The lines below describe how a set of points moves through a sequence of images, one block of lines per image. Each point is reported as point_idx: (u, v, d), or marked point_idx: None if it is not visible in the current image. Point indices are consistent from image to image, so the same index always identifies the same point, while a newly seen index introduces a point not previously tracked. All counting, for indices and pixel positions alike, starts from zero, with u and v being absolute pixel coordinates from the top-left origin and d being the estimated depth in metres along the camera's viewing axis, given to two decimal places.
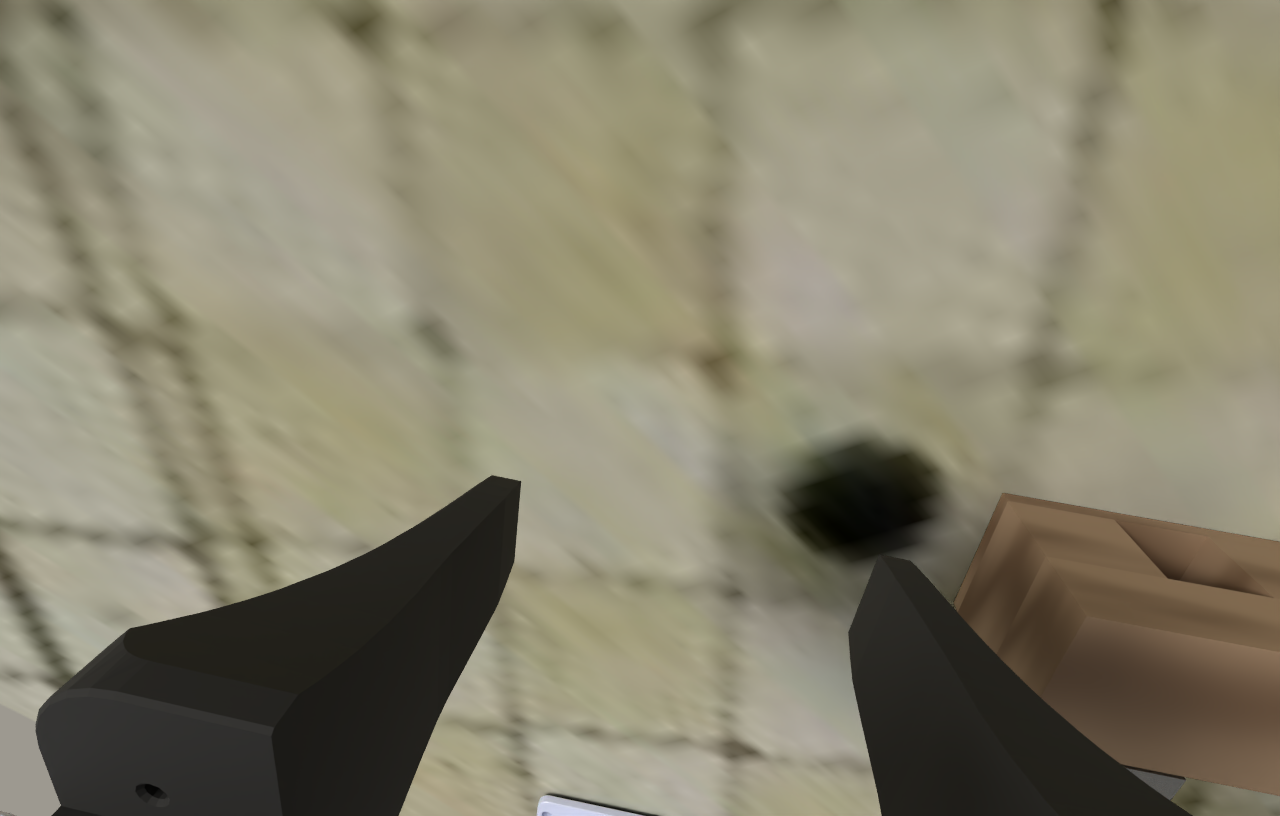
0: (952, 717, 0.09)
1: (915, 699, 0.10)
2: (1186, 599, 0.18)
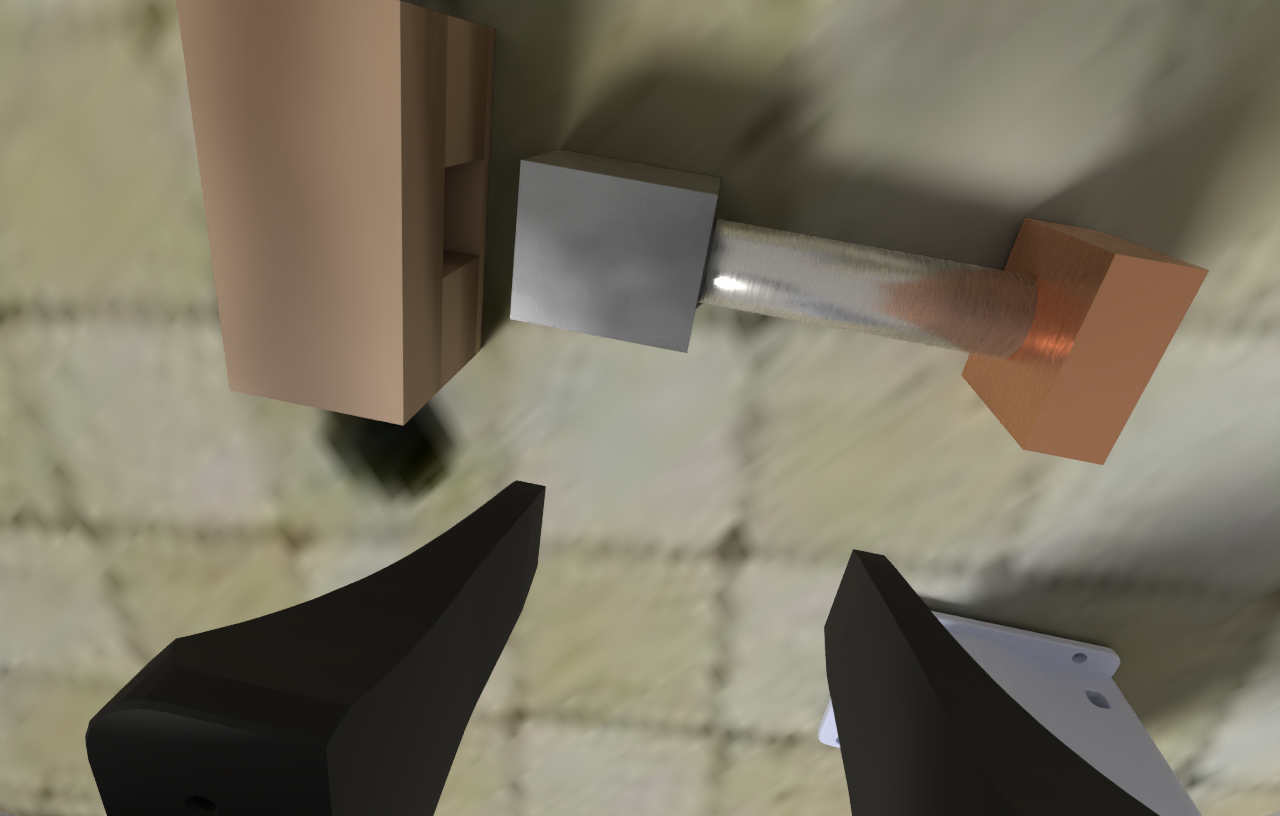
0: (916, 709, 0.09)
1: (883, 691, 0.10)
2: None
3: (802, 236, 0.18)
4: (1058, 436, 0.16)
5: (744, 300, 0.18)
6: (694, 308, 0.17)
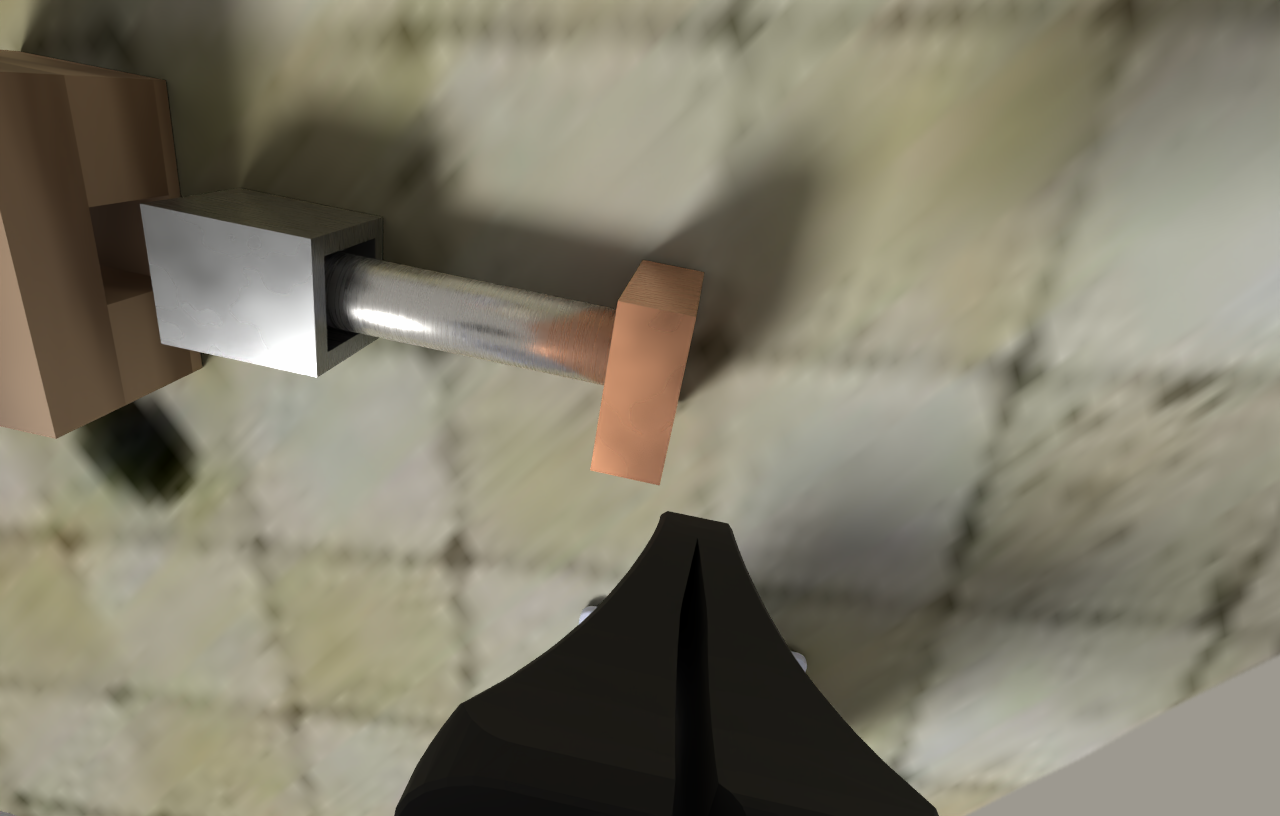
0: (700, 663, 0.09)
1: (691, 651, 0.10)
2: None
3: (426, 274, 0.20)
4: (615, 459, 0.18)
5: (376, 330, 0.20)
6: (314, 338, 0.19)
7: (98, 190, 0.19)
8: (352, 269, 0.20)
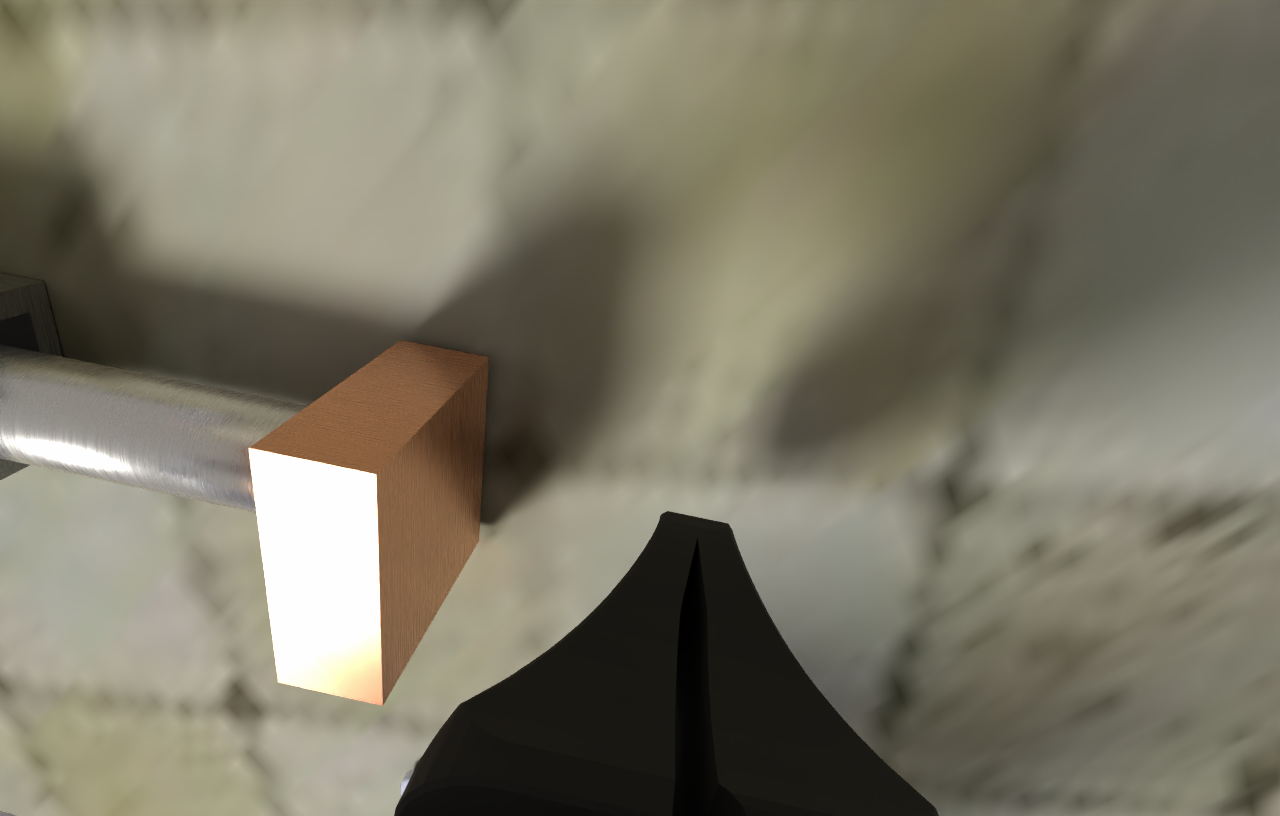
0: (700, 662, 0.09)
1: (691, 650, 0.10)
2: None
3: (66, 372, 0.14)
4: (309, 669, 0.12)
5: None
6: None
7: None
8: None
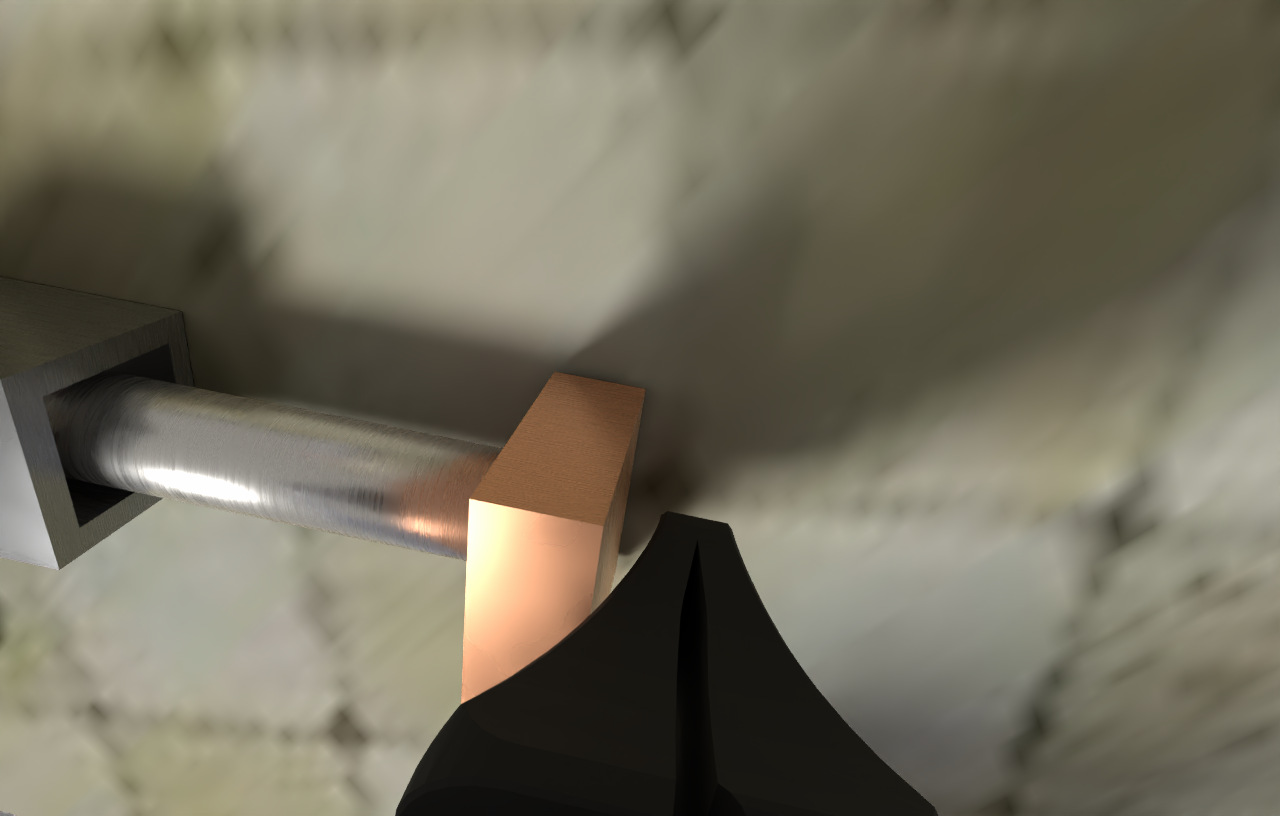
0: (700, 663, 0.09)
1: (691, 651, 0.10)
2: None
3: (222, 408, 0.13)
4: None
5: (151, 493, 0.13)
6: (41, 518, 0.13)
7: None
8: (106, 405, 0.13)
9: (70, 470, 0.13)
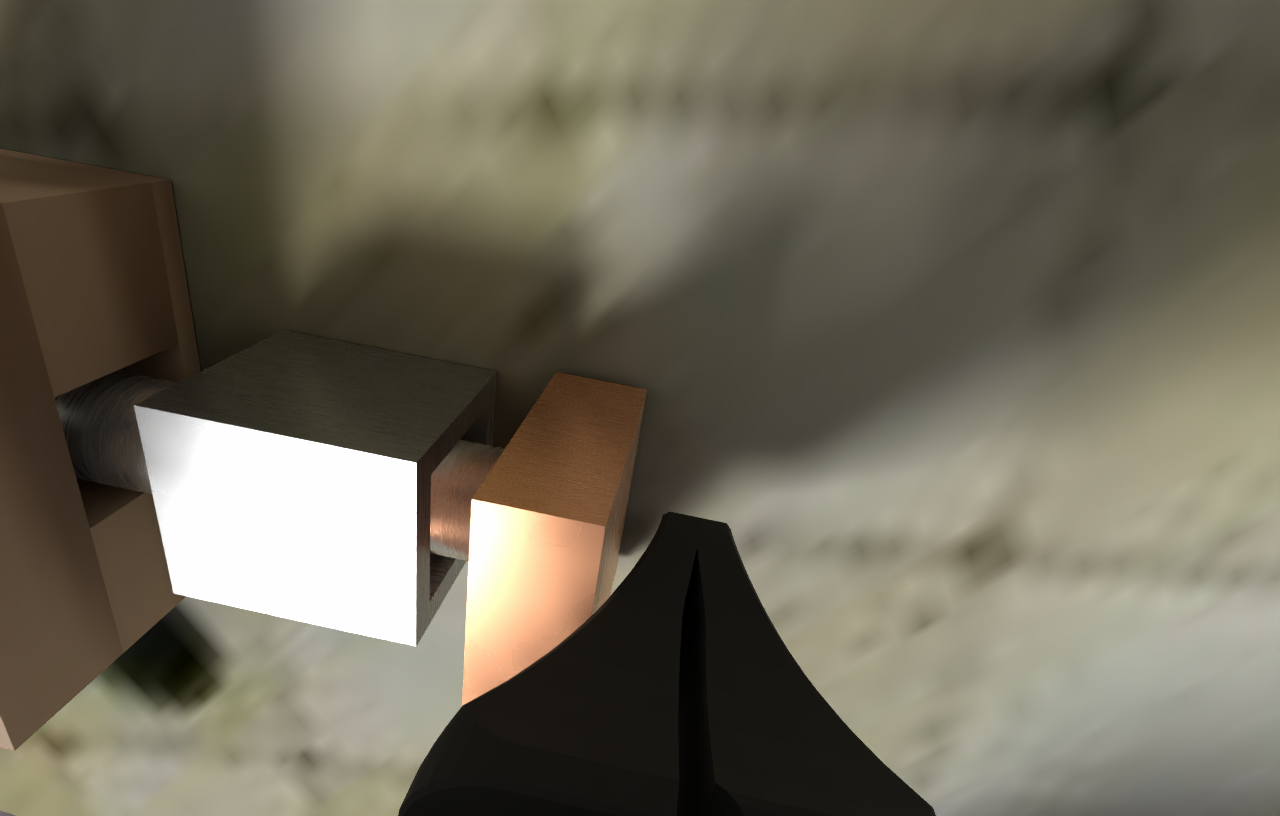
0: (698, 662, 0.09)
1: (689, 650, 0.10)
2: None
3: None
4: None
5: None
6: (414, 596, 0.12)
7: (69, 367, 0.12)
8: (108, 404, 0.13)
9: None
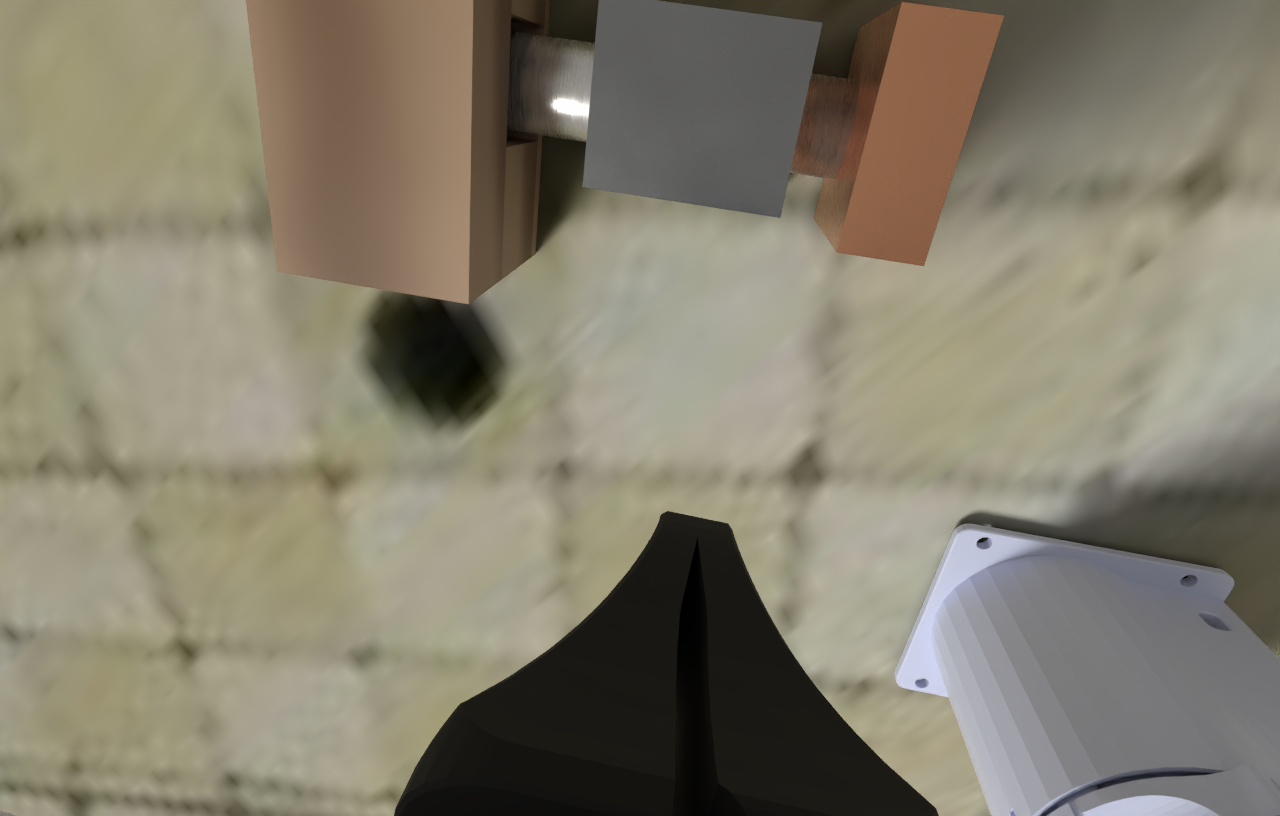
0: (700, 662, 0.09)
1: (691, 651, 0.10)
2: None
3: None
4: (871, 233, 0.15)
5: (552, 117, 0.17)
6: (790, 163, 0.16)
7: None
8: (524, 41, 0.17)
9: None
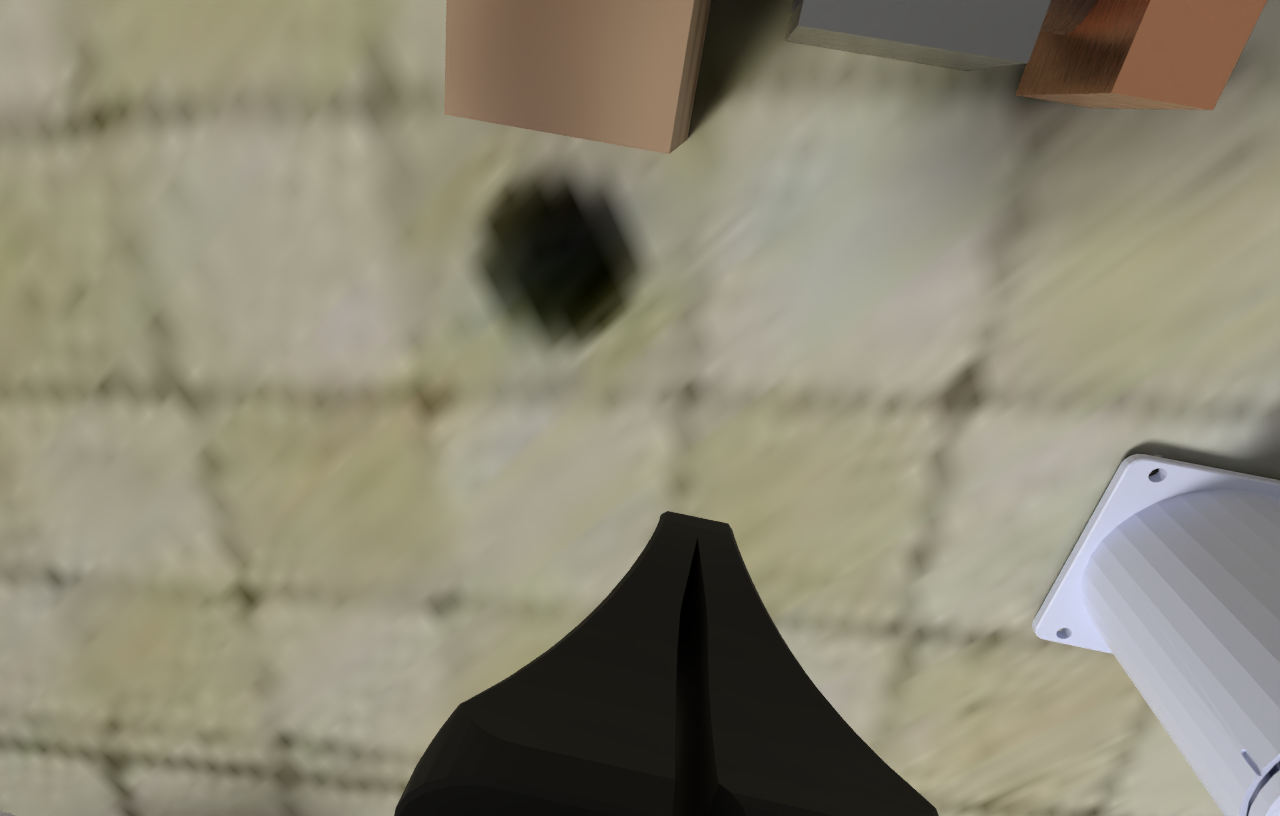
0: (700, 662, 0.09)
1: (691, 650, 0.10)
2: None
3: None
4: (1156, 69, 0.13)
5: None
6: None
7: None
8: None
9: None
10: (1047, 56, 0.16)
